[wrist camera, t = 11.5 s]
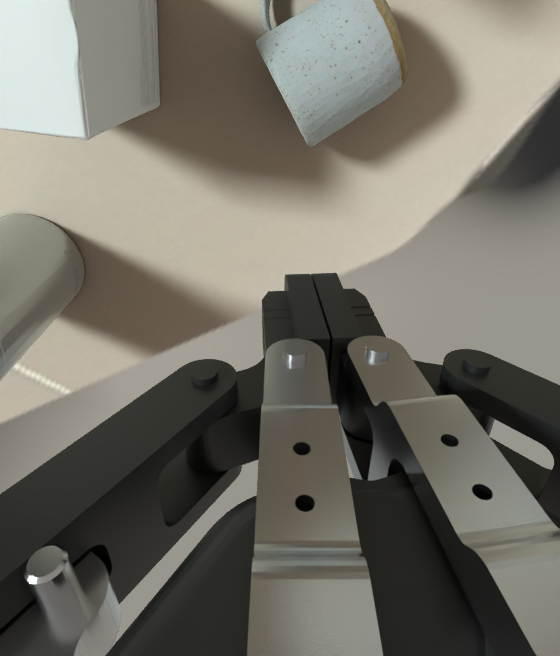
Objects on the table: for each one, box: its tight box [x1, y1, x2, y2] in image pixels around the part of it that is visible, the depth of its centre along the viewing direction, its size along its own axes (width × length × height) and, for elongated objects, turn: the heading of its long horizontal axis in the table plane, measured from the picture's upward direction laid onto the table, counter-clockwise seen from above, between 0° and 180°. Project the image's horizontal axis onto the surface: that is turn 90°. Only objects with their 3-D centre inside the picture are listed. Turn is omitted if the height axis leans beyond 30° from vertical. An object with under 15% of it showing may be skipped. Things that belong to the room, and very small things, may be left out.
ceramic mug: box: [256, 0, 408, 147], centre depth 30 cm, size 11×8×8 cm
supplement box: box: [0, 0, 160, 140], centre depth 27 cm, size 9×9×15 cm
